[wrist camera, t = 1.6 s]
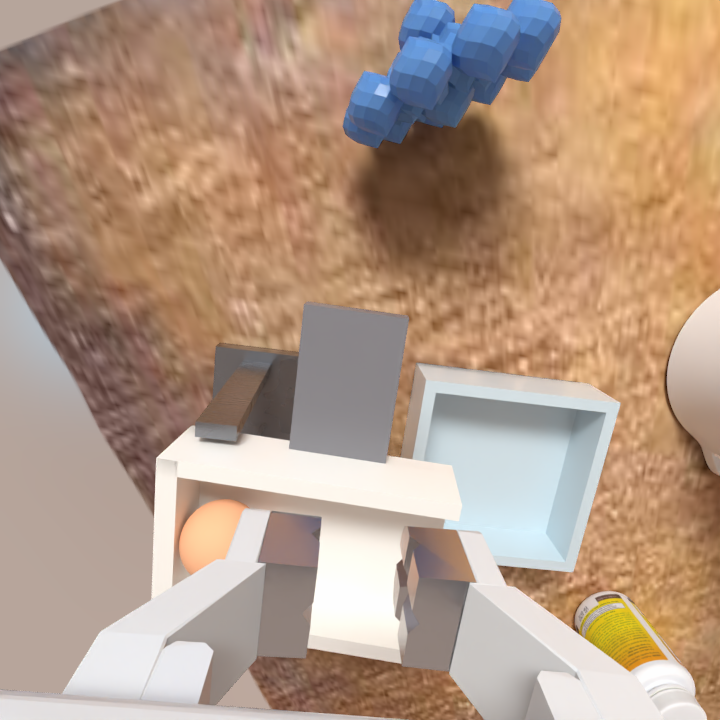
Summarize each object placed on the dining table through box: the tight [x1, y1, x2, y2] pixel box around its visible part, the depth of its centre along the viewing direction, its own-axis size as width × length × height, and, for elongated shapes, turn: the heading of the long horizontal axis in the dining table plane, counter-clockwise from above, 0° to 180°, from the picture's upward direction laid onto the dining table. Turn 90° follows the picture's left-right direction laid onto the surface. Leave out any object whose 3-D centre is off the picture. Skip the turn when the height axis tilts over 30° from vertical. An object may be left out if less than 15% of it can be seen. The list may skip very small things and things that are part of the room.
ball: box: [179, 499, 249, 575], centre depth 24 cm, size 4×4×4 cm
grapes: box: [343, 0, 561, 148], centre depth 26 cm, size 12×7×12 cm, turn 111°
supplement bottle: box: [575, 591, 707, 720], centre depth 38 cm, size 6×6×10 cm
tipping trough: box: [152, 302, 462, 664], centre depth 24 cm, size 14×16×4 cm
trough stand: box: [195, 343, 299, 441], centre depth 31 cm, size 6×13×13 cm, turn 173°
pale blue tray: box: [400, 363, 621, 572], centre depth 37 cm, size 14×14×4 cm
